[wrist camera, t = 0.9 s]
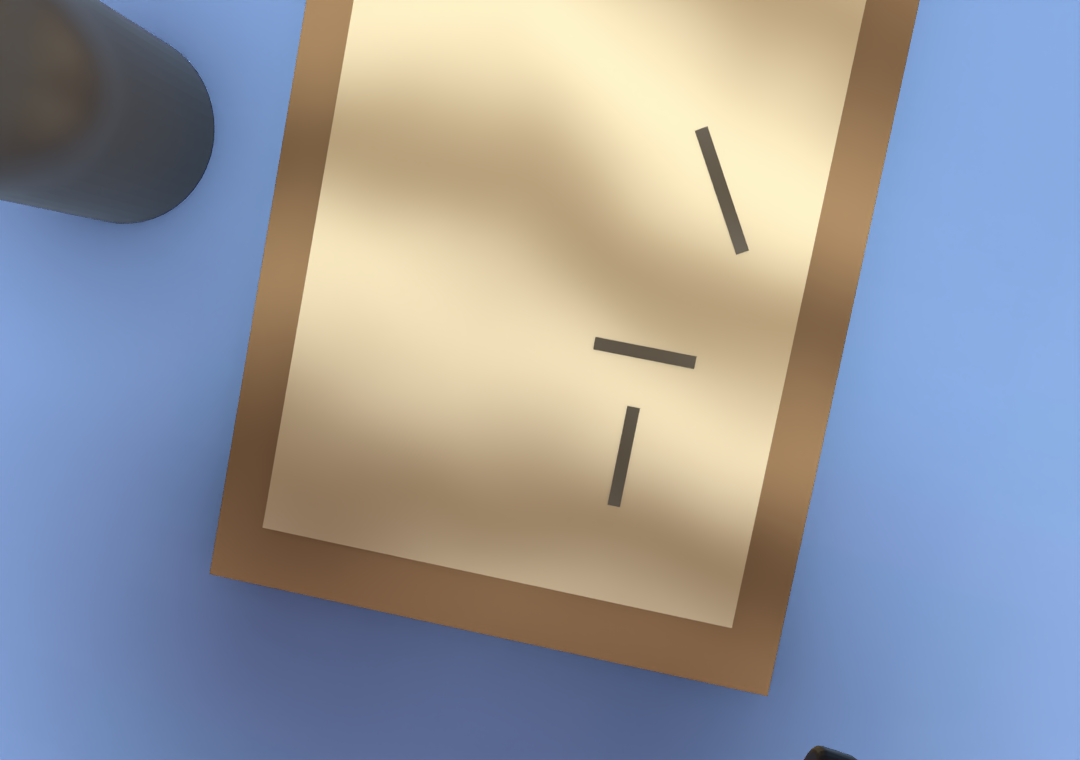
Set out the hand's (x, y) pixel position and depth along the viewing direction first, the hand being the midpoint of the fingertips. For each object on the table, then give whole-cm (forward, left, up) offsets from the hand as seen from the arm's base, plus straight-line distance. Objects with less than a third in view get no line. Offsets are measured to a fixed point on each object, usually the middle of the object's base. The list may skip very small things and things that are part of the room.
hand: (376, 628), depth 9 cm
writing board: (+4, +4, -13) cm, 15 cm away
